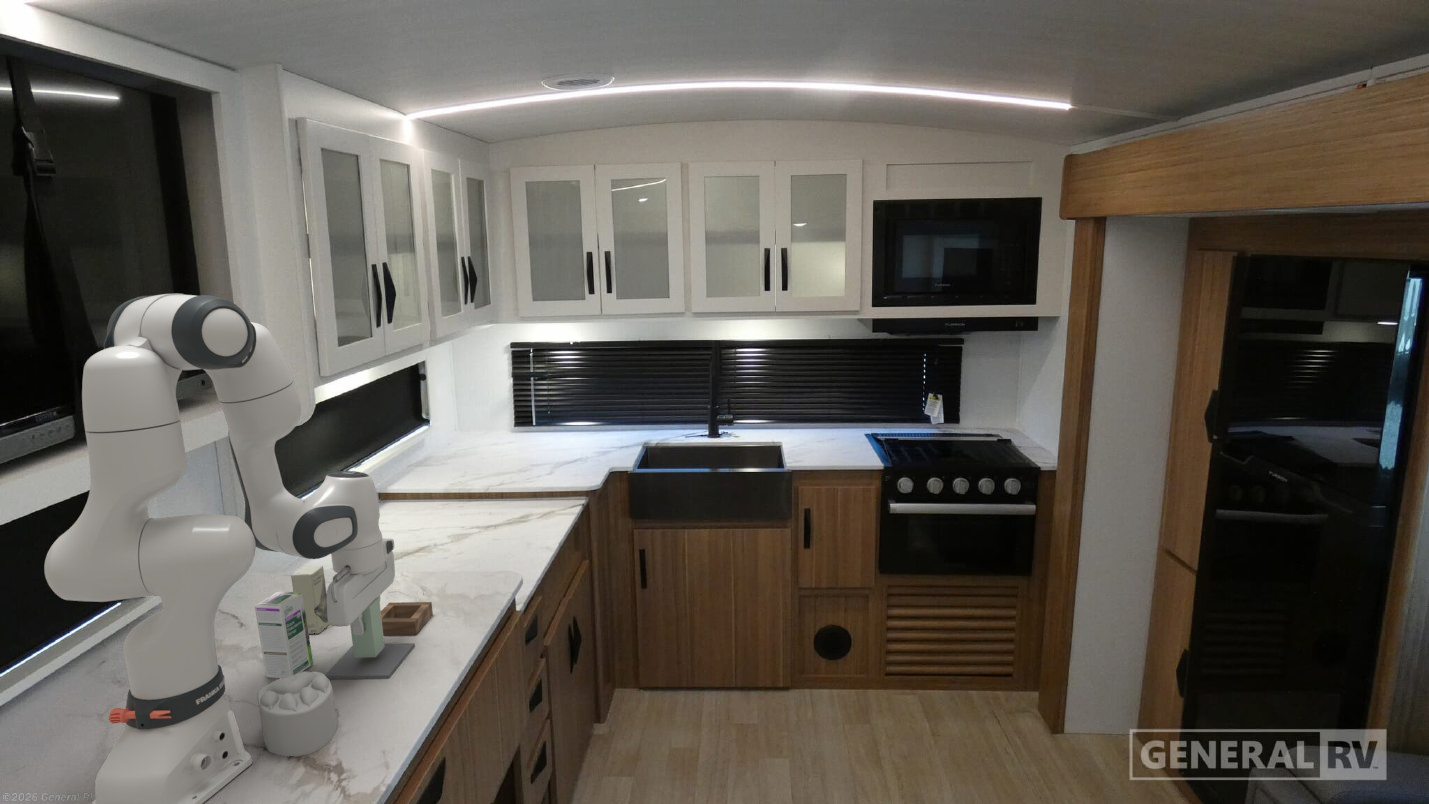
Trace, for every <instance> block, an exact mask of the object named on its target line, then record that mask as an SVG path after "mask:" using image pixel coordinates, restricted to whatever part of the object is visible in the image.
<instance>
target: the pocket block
mask: <svg viewBox="0 0 1429 804" xmlns="http://www.w3.org/2000/svg"><path fill="white" fill-rule="evenodd" d="M433 616H434V612H433V604H432V601H410V602H405V601H403V602H399V601H398V602H388V603H387V604H386V605H385V607H384V608H383V609H381V618H382V627H383V636H385V637H386V636H387V637H389V636H390V637H396V636H397V637H398V636H400V637H402V636H417V635H418V634H419V633H420V632H421V630H422V629H423V628H424V627H425V626H426V624H428V622H429V621H430V620H431V618H432V617H433Z"/></svg>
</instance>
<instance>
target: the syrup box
mask: <svg viewBox="0 0 1429 804" xmlns="http://www.w3.org/2000/svg"><path fill="white" fill-rule="evenodd" d="M254 611H255V617H256V622H257V624H256V625H257V629H258V635H259V641H260V647H261V653H262V658H263V664H264V671H265V676H266V678H271V679H278V678H285V677H290V676H293V675H295V674H298V673H301V672H305V671H306V670H307V669H308V668H310V667H311V666H313V665H314V658H313V653H312V652H313V651H312V647H311V641H310V634H309V633H308V626H307V620H306V613H305V607H304V600H303V594H302V593H296V592H293V591H276V592H275V593H274V594H272V595H270V596H268V597H267V598H265V599H263V600H262V601H260V602H258V603H256V604H255V605H254Z"/></svg>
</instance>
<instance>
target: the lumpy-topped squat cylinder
mask: <svg viewBox="0 0 1429 804" xmlns="http://www.w3.org/2000/svg"><path fill="white" fill-rule="evenodd" d="M257 702H258V710H259V715H260V723H261V728H262V735H263V741H264V742H263V743H264V745H265V748H266V749H267V750H268V752H270V753H272V754H274V755H277V756H280V755H282V756H281V757H287V756H288V758H290V757H289V756H294V757H302V755H303V756H307V755H310V754H312V753H315V752H317V751H319V750H321V749H322V748H323V747H325V746H326V745H327V744H329V743H330V742H331V741H332V739H333V738H334V736H335V734H336V733H337V731H338V720H337V712H336V705H335V698H334V689H333V685H332V683H331V681H330V679H328V678H327V677H326V676H325V674H324V673H323V672H320V671H303V672H301V673H298V674H295V675H293V676H290V677H285V678H281V679H278V678H276V679H275V680H273V681H272V682H270V683H268V684H266V685H264V686H263V687H262V688H261V689H260V690H259V691H258V693H257Z"/></svg>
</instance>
